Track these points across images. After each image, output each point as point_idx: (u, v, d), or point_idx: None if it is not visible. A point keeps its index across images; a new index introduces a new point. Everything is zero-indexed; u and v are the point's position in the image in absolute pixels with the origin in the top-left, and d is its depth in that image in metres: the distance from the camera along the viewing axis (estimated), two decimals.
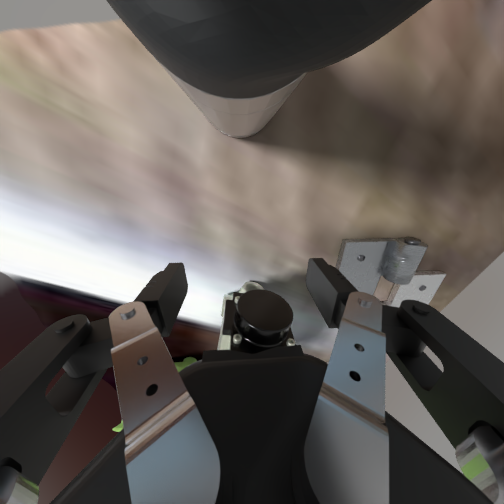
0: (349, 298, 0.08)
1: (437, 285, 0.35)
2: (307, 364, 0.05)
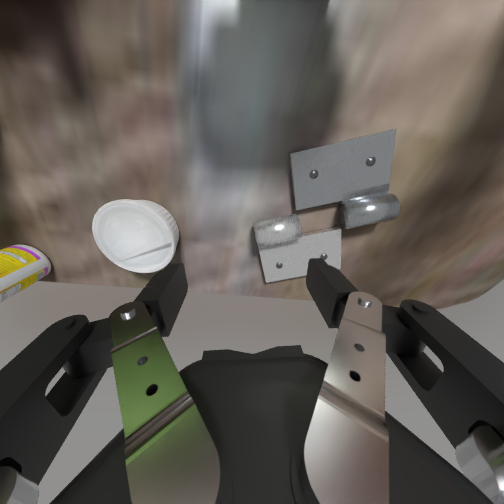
0: (349, 298, 0.08)
1: None
2: (307, 364, 0.05)
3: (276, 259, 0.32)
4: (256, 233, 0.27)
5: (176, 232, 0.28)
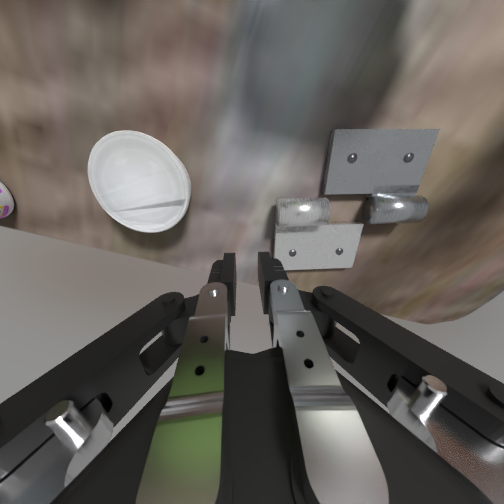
0: (270, 285, 0.08)
1: (338, 265, 0.32)
2: None
3: (291, 245, 0.30)
4: (282, 209, 0.24)
5: (190, 191, 0.24)
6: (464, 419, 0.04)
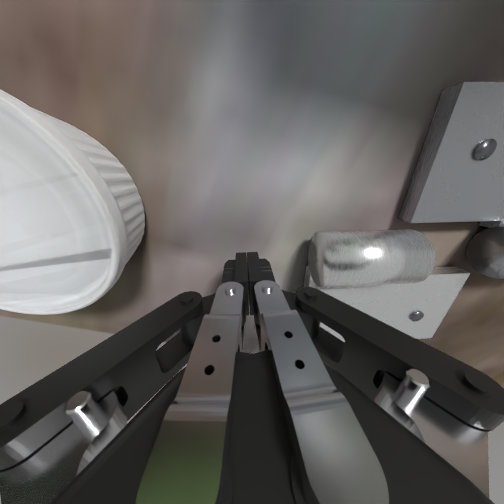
0: (254, 285, 0.08)
1: None
2: None
3: None
4: (333, 259, 0.11)
5: (136, 222, 0.11)
6: (445, 407, 0.05)
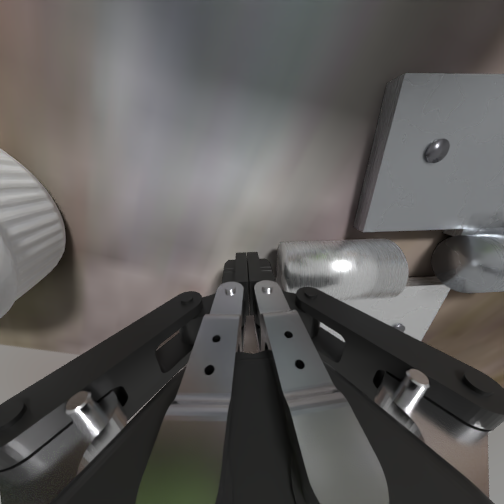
0: (254, 286, 0.08)
1: None
2: None
3: None
4: (293, 275, 0.10)
5: (39, 235, 0.10)
6: (445, 407, 0.05)
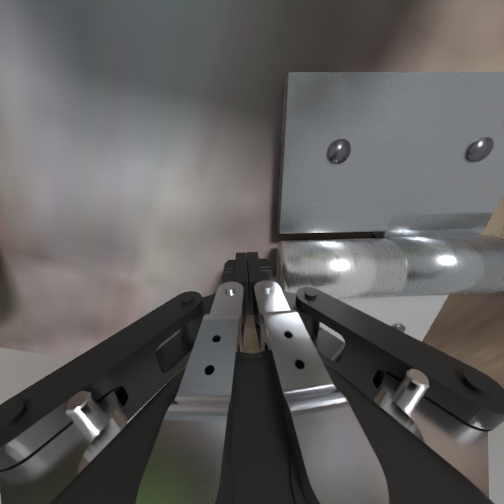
0: (254, 285, 0.08)
1: None
2: None
3: None
4: (291, 273, 0.10)
5: None
6: (445, 407, 0.05)
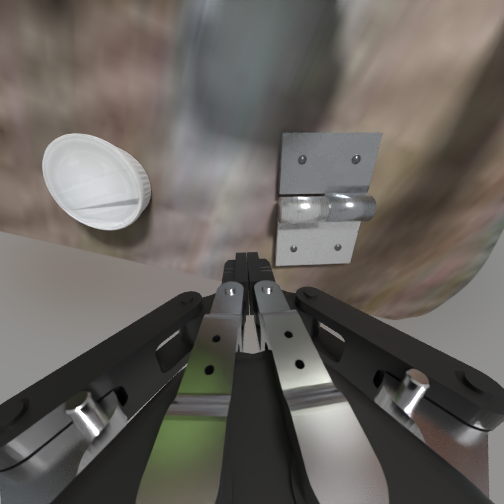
0: (254, 285, 0.08)
1: (337, 261, 0.34)
2: None
3: (292, 241, 0.31)
4: (284, 206, 0.26)
5: (147, 191, 0.26)
6: (445, 407, 0.05)
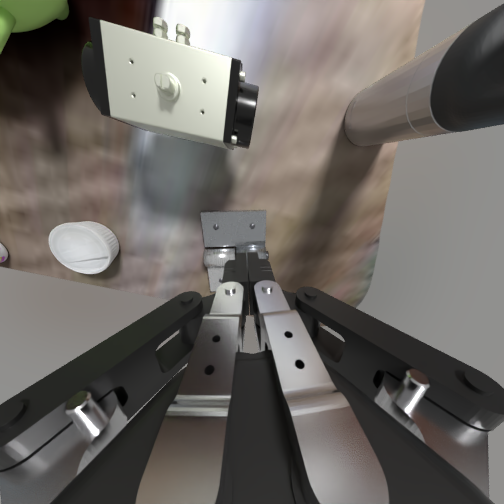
0: (254, 285, 0.08)
1: None
2: None
3: (219, 275, 0.45)
4: (204, 257, 0.40)
5: (115, 248, 0.40)
6: (445, 407, 0.05)
